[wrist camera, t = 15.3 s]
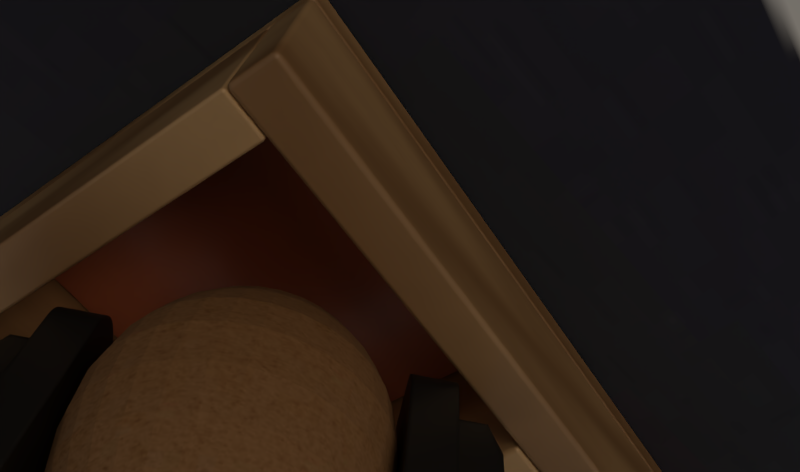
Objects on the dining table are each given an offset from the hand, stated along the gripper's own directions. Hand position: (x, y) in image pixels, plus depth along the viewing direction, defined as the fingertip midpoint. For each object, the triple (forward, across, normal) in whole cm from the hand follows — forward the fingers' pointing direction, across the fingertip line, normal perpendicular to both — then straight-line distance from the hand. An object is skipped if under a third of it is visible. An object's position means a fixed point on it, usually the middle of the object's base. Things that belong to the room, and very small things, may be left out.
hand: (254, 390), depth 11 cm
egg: (+1, 0, 0) cm, 1 cm away
